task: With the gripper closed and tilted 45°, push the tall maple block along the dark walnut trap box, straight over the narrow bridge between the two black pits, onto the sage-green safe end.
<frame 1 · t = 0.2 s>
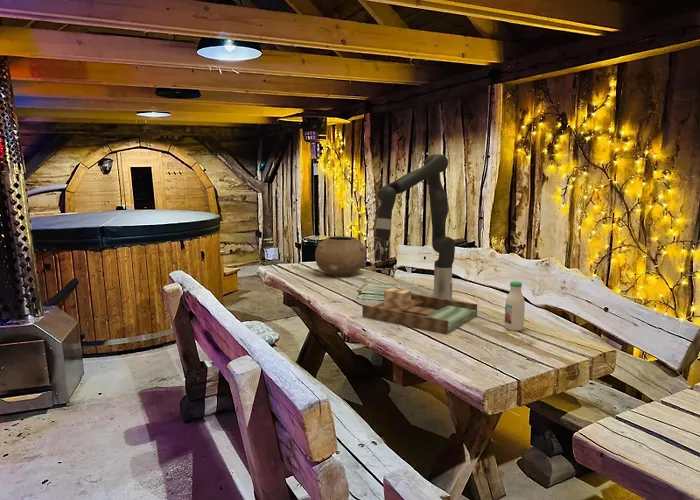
hand: (380, 260, 233), 23 cm above the table, tool pointing down, fingers open, 8 cm apart
maple block: (397, 306, 225), point 3 cm above the table, touching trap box
ceramic pot: (340, 274, 315), on the table
milk bottle: (513, 328, 200), on the table
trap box: (419, 316, 218), on the table
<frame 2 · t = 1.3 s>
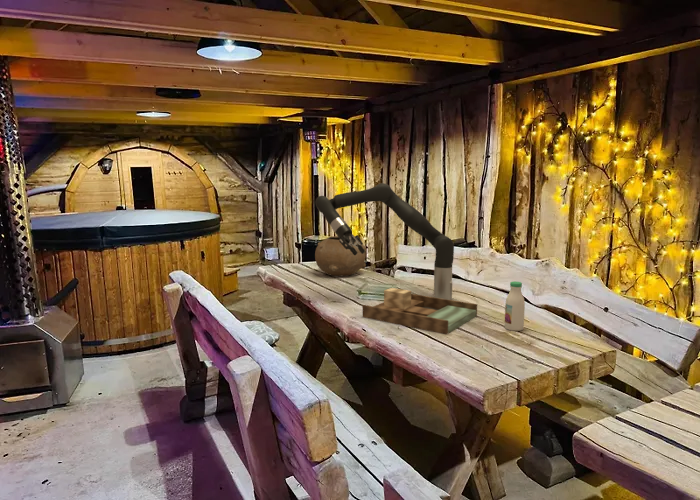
hand: (360, 253, 234), 26 cm above the table, tool tilted 45°, fingers open, 6 cm apart
nothing on the table moved.
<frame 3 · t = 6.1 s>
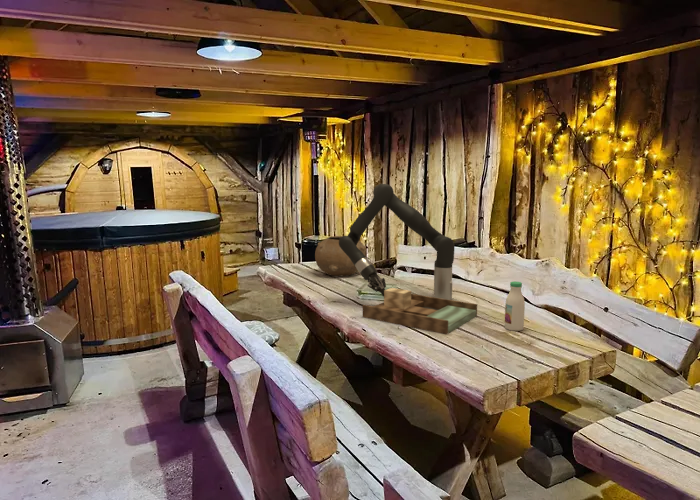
hand: (386, 296, 228), 7 cm above the table, tool tilted 45°, fingers closed
maple block: (397, 306, 225), point 3 cm above the table, touching gripper, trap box
everything else where it was.
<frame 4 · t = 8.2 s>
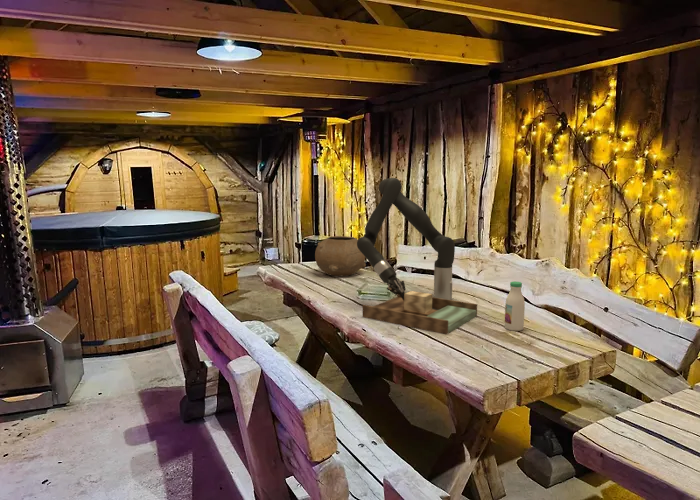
hand: (406, 299, 222), 7 cm above the table, tool tilted 45°, fingers closed
maple block: (418, 309, 218), point 3 cm above the table, touching gripper, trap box
everything else where it was.
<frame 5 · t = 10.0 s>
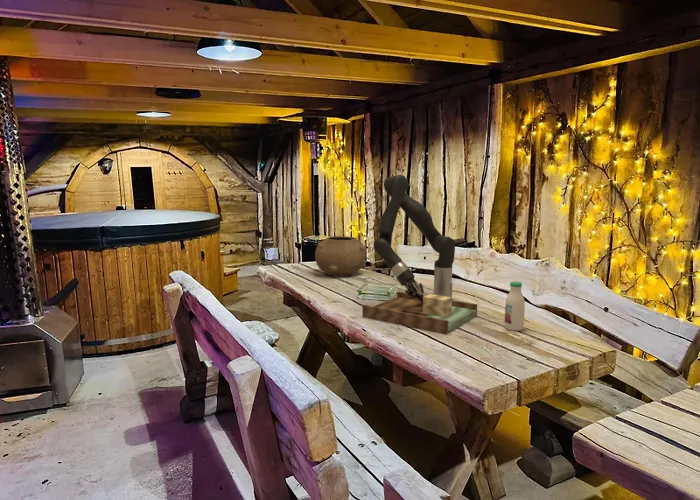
hand: (425, 302, 216), 7 cm above the table, tool tilted 45°, fingers closed
maple block: (437, 313, 212), point 3 cm above the table, touching gripper, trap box
everything else where it was.
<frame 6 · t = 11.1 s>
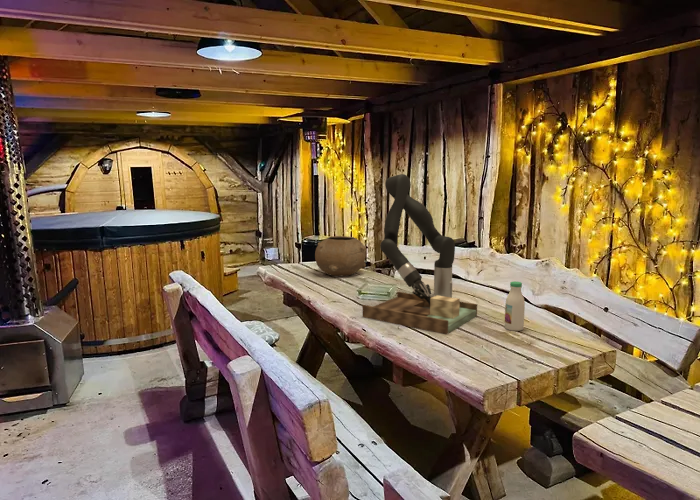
hand: (432, 304, 213), 7 cm above the table, tool tilted 45°, fingers closed
maple block: (444, 314, 210), point 3 cm above the table, touching gripper, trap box
everything else where it was.
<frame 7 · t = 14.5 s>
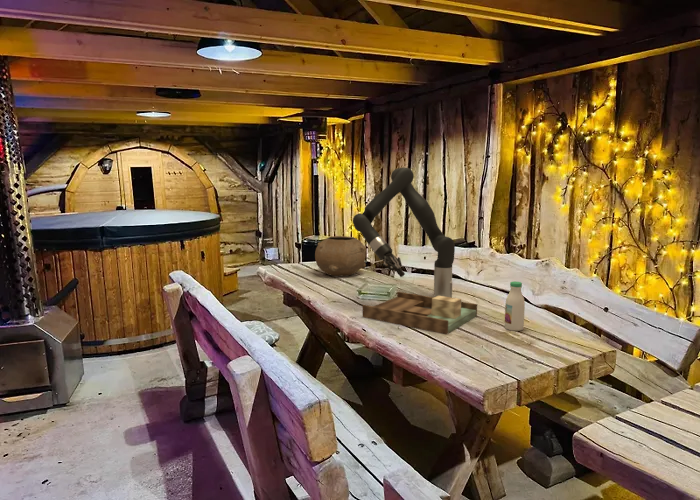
hand: (403, 275, 221), 18 cm above the table, tool tilted 45°, fingers closed
maple block: (446, 315, 210), point 3 cm above the table, touching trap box
everything else where it was.
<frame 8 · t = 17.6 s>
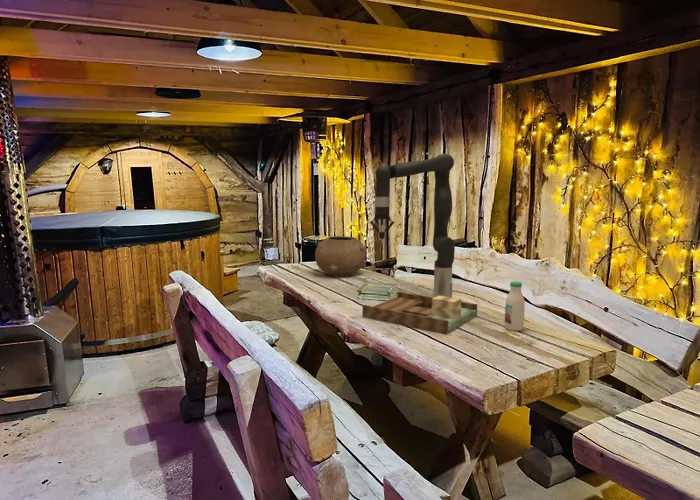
hand: (382, 239, 245), 32 cm above the table, tool pointing down, fingers closed
nothing on the table moved.
at the end: maple block inside the target area on the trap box (0.8 cm from its centre), point 3.0 cm above the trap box's base; maple block tilted 0° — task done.
